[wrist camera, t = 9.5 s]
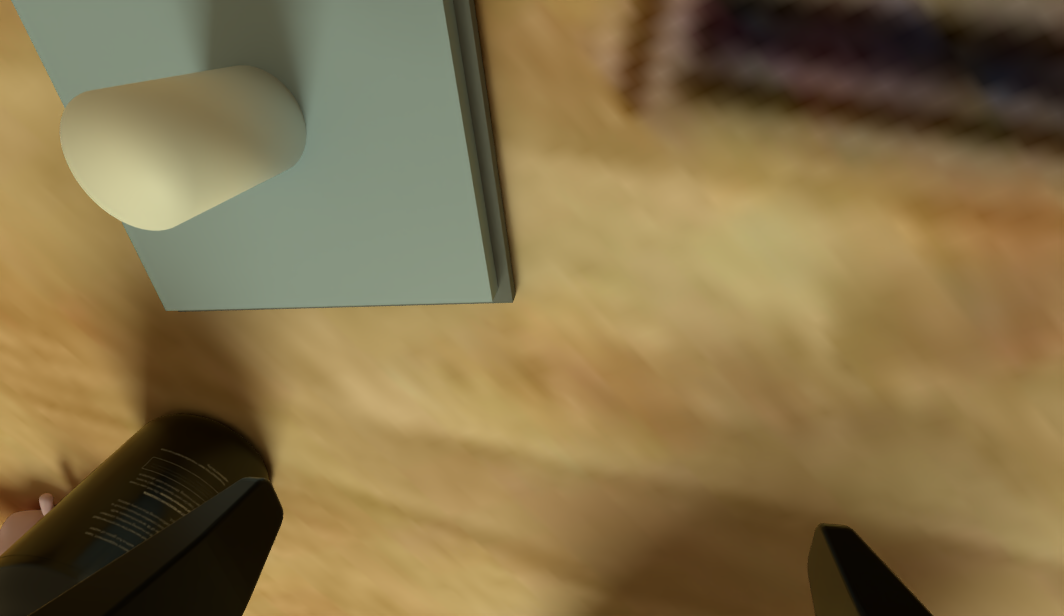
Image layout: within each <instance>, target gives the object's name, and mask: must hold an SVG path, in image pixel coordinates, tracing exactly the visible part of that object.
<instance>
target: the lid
mask: <svg viewBox="0 0 1064 616" xmlns="http://www.w3.org/2000/svg"><path fill="white" fill-rule="evenodd" d="M11 1H12V3H13V5H14V7H15V9H16V11H17V13H18V15H19V17H20V19H21V21H22V23H23V25H24V27H25V29H26V31H27V33H28V35H29V37H30V39H31V41H32V43H33V45H34V47H35V49H36V51H37V53H38V55H39V57H40V59H41V61H42V63H43V65H44V67H45V69H46V71H47V73H48V75H49V77H50V79H51V81H52V83H53V85H54V87H55V89H56V91H57V93H58V95H59V97H60V99H61V101H62V103H63V105H64V107H65V109H64V111H63V114H62V117H61V122H60V140H61V146H62V150H63V153H64V156H65V159H66V162H67V164H68V166H69V168H70V170H71V172H72V174H73V175H74V177H75V179H76V180H77V182H78V183H79V184H80V186H81V187H82V188H83V190H84V191H85V192H86V193H87V195H88V196H89V197H90V198H91V199H92V200H93V201H94V202H95V203H96V204H98V205H99V206H100V207H101V208H102V209H103V210H105V211H106V212H107V213H109V214H110V215H112V216H113V217H115V218H117V219H118V220H120V221H121V222H122V224H123V226H124V228H125V230H126V232H127V234H128V236H129V238H130V240H131V242H132V244H133V246H134V248H135V250H136V252H137V254H138V256H139V258H140V260H141V262H142V264H143V266H144V268H145V270H146V272H147V274H148V276H149V278H150V280H151V282H152V284H153V286H154V288H155V290H156V292H157V294H158V296H159V298H160V300H161V302H162V304H163V306H164V308H165V310H166V311H180V310H217V309H253V308H290V307H327V306H363V305H400V304H437V303H473V302H493V300H494V297H495V295H496V293H497V290H498V284H497V277H496V271H495V265H494V258H493V252H492V245H491V239H490V233H489V226H488V220H487V214H486V207H485V201H484V195H483V188H482V182H481V175H480V169H479V163H478V156H477V150H476V144H475V137H474V131H473V125H472V118H471V112H470V106H469V99H468V93H467V86H466V80H465V74H464V67H463V61H462V55H461V48H460V42H459V36H458V29H457V23H456V16H455V10H454V4H453V0H11Z"/></svg>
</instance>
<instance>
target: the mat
mask: <svg viewBox="0 0 1064 616" xmlns="http://www.w3.org/2000/svg"><path fill="white" fill-rule="evenodd" d="M453 4H454V10H455V16H456V23H457V29H458V36H459V42H460V48H461V55H462V61H463V67H464V74H465V80H466V86H467V93H468V99H469V106H470V112H471V118H472V125H473V131H474V137H475V144H476V150H477V156H478V163H479V169H480V175H481V182H482V188H483V195H484V201H485V207H486V214H487V220H488V226H489V233H490V239H491V245H492V252H493V258H494V265H495V271H496V277H497V284H498V290H497V293H496V295H495V297H494V300H493V302H473V303H437V304H400V305H363V306H327V307H290V308H253V309H217V310H180V311H178V312H187V311H223V310H260V309H296V308H333V307H369V306H406V305H442V304H478V303H513V300H514V298H515V295H516V294H515V287H514V280H513V273H512V266H511V259H510V252H509V245H508V238H507V231H506V224H505V217H504V209H503V202H502V195H501V188H500V181H499V174H498V167H497V160H496V153H495V146H494V139H493V132H492V125H491V118H490V111H489V104H488V97H487V89H486V82H485V75H484V68H483V61H482V54H481V47H480V40H479V33H478V26H477V19H476V12H475V5H474V0H453Z"/></svg>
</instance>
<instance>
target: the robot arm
mask: <svg viewBox="0 0 1064 616" xmlns="http://www.w3.org/2000/svg"><path fill="white" fill-rule="evenodd" d="M282 520H283V508H282V506H281V504H280V501H279V499H278V497H277V495H276V492H275V490H274V488H273V486H272V484H271V482H270V481H269V480H268V479H266V478H258V477H245V478H242V479H241V480H239V481H237V482H236V483H234V484H232V485H231V486H229V487H228V488H226V489H225V490H223V491H222V492H220V493H218V494H217V495H215V496H214V497H212V498H211V499H209V500H208V501H206V502H204V503H203V504H201V505H200V506H198V507H197V508H195V509H193V510H192V511H190V512H189V513H187V514H186V515H184V516H183V517H181V518H179V519H178V520H176V521H175V522H173V523H172V524H170V525H169V526H167V527H165V528H164V529H162V530H161V531H159V532H158V533H156V534H155V535H153V536H151V537H150V538H148V539H147V540H145V541H144V542H142V543H141V544H139V545H137V546H136V547H134V548H133V549H131V550H130V551H128V552H126V553H125V554H123V555H122V556H120V557H119V558H117V559H116V560H114V561H112V562H111V563H109V564H108V565H106V566H105V567H103V568H102V569H100V570H98V571H97V572H95V573H94V574H92V575H91V576H89V577H87V578H86V579H84V580H83V581H81V582H80V583H78V584H77V585H75V586H73V587H72V588H70V589H69V590H67V591H66V592H64V593H62V594H61V595H59V596H58V597H56V598H55V599H53V600H52V601H50V602H48V603H47V604H45V605H44V606H42V607H41V608H39V609H38V610H36V611H34V612H33V613H31V614H30V615H28V616H242V615H243V613H244V611H245V609H246V606H247V604H248V602H249V600H250V598H251V595H252V593H253V591H254V588H255V586H256V584H257V581H258V579H259V576H260V574H261V572H262V569H263V567H264V564H265V562H266V560H267V557H268V555H269V552H270V550H271V548H272V545H273V543H274V541H275V538H276V536H277V533H278V531H279V529H280V526H281V523H282ZM807 565H808V577H809V582H810V588H811V593H812V599H813V605H814V610H815V616H933V615H932V614H931V613H930V612H929V611H928V609H927V608H926V607H925V606H924V605H923V604H922V603H921V602H920V601H919V600H918V599H917V598H916V597H915V596H914V594H913V593H912V592H911V591H910V590H909V589H908V588H907V587H906V586H905V585H904V584H903V583H902V582H901V581H900V579H899V578H898V577H897V576H896V575H895V574H894V573H893V572H892V571H891V570H890V569H889V568H888V567H887V566H886V564H885V563H884V562H883V561H882V560H881V559H880V558H879V557H878V556H877V555H876V554H875V553H874V552H873V550H872V549H871V548H870V547H869V546H868V545H867V544H866V543H865V542H864V541H863V540H862V539H861V538H860V537H859V535H858V534H857V533H856V532H855V531H854V530H853V529H851V528H850V527H848V526H845V525H836V524H824V523H823V524H819V525H818V526H817V527H816V530H815V533H814V537H813V541H812V545H811V548H810V552H809V556H808V563H807Z"/></svg>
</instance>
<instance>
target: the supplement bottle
mask: <svg viewBox="0 0 1064 616" xmlns="http://www.w3.org/2000/svg"><path fill="white" fill-rule="evenodd" d="M245 477H258V478H266V479H268V480H269V476H268V472H267V469H266V466H265V464H264V462H263V460H262V458H261V457H260V455H259V454H258V452H257V451H256V450H255V449H254V448H253V447H252V445H251V444H250V443H249V442H247V441H246V440H245V439H244V438H243V437H242V436H240V435H239V434H238V433H236V432H235V431H233V430H232V429H230V428H228V427H226V426H224V425H223V424H221V423H218V422H216V421H214V420H211V419H208V418H205V417H201V416H197V415H191V414H171V415H166V416H162V417H159V418H156V419H154V420H152V421H150V422H149V423H148V424H146V425H145V426H144V427H142V428H141V429H140V430H139V431H138V432H137V433H135V434H134V435H133V436H132V437H131V438H130V439H128V440H127V441H126V442H125V443H124V444H123V445H122V446H121V447H120V448H119V449H117V450H116V451H115V452H114V453H113V454H112V455H111V456H110V457H109V458H108V459H106V460H105V461H104V462H103V463H102V464H101V465H100V466H99V467H98V468H96V469H95V470H94V471H93V472H92V473H91V474H90V475H89V476H88V477H87V478H85V479H84V480H83V481H82V482H81V483H80V484H79V485H78V486H77V487H76V488H74V489H73V490H72V491H71V492H70V493H69V494H68V495H67V496H66V497H65V498H63V499H62V500H61V501H60V502H59V503H58V504H57V505H56V506H55V507H53V508H52V509H51V510H50V511H49V512H48V513H47V514H46V515H45V516H44V517H42V518H41V519H40V520H39V521H38V522H37V523H36V524H35V525H34V526H33V527H31V528H30V529H29V530H28V531H27V532H26V533H25V534H24V535H23V536H22V537H20V538H19V539H18V540H17V541H16V542H15V543H14V544H13V545H12V546H11V547H9V548H8V549H7V550H6V551H5V552H4V553H3V554H2V555H1V556H0V616H28V615H30V614H31V613H33V612H34V611H36V610H38V609H39V608H41V607H42V606H44V605H45V604H47V603H48V602H50V601H52V600H53V599H55V598H56V597H58V596H59V595H61V594H62V593H64V592H66V591H67V590H69V589H70V588H72V587H73V586H75V585H77V584H78V583H80V582H81V581H83V580H84V579H86V578H87V577H89V576H91V575H92V574H94V573H95V572H97V571H98V570H100V569H102V568H103V567H105V566H106V565H108V564H109V563H111V562H112V561H114V560H116V559H117V558H119V557H120V556H122V555H123V554H125V553H126V552H128V551H130V550H131V549H133V548H134V547H136V546H137V545H139V544H141V543H142V542H144V541H145V540H147V539H148V538H150V537H151V536H153V535H155V534H156V533H158V532H159V531H161V530H162V529H164V528H165V527H167V526H169V525H170V524H172V523H173V522H175V521H176V520H178V519H179V518H181V517H183V516H184V515H186V514H187V513H189V512H190V511H192V510H193V509H195V508H197V507H198V506H200V505H201V504H203V503H204V502H206V501H208V500H209V499H211V498H212V497H214V496H215V495H217V494H218V493H220V492H222V491H223V490H225V489H226V488H228V487H229V486H231V485H232V484H234V483H236V482H237V481H239V480H241V479H242V478H245Z"/></svg>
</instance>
